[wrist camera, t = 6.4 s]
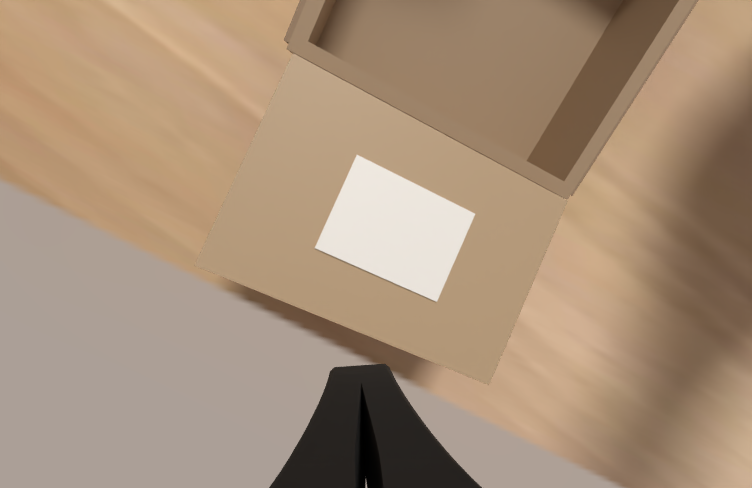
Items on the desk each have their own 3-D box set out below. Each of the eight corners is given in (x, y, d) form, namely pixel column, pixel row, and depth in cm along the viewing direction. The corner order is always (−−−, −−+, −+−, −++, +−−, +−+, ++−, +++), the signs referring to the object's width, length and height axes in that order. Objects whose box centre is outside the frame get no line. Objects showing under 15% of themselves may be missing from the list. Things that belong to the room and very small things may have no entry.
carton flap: (489, 385, 15) (483, 381, 16) (568, 200, 16) (560, 201, 16) (193, 265, 13) (196, 264, 13) (293, 52, 13) (292, 58, 14)
